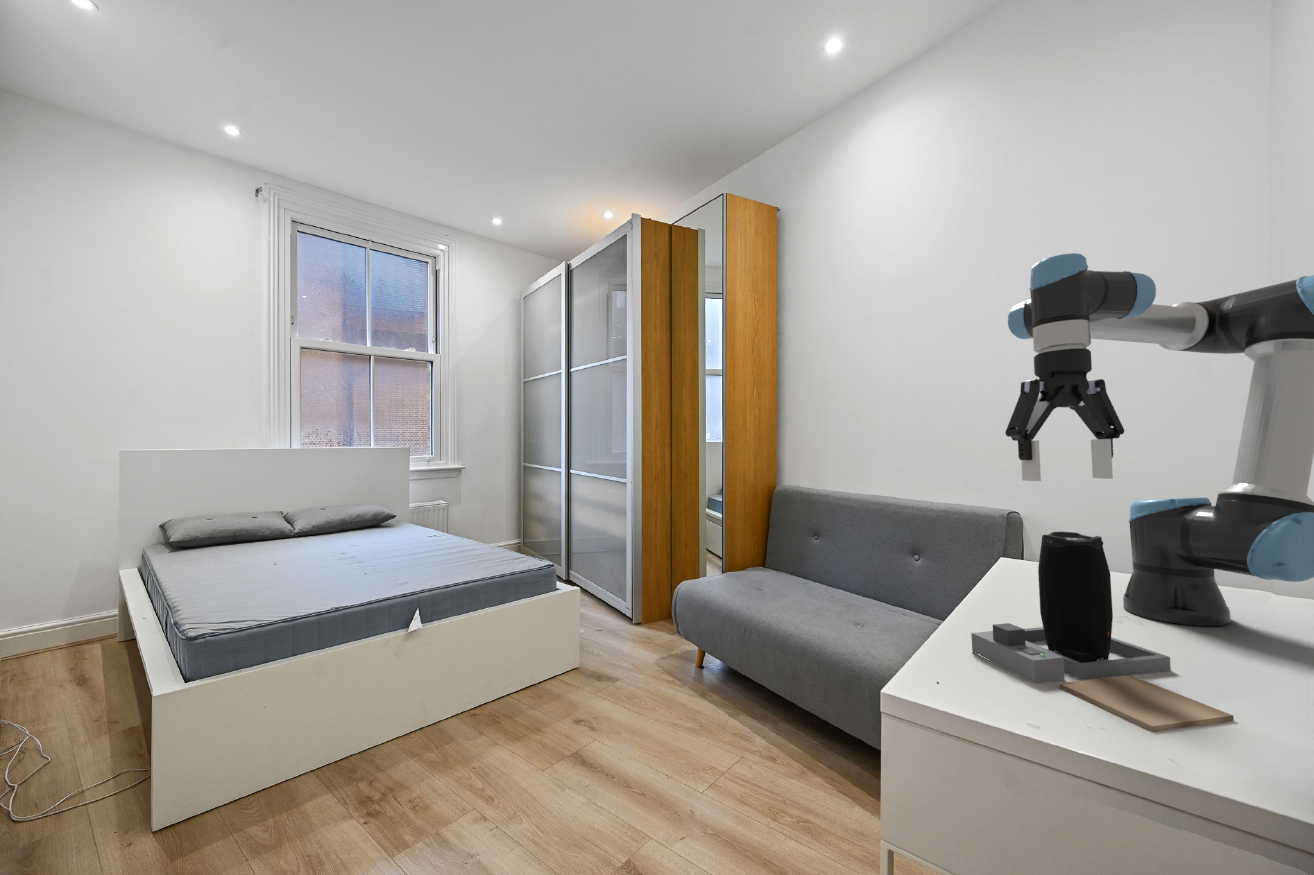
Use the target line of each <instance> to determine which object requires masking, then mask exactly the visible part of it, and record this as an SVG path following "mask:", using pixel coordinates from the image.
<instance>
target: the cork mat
mask: <svg viewBox="0 0 1314 875" xmlns="http://www.w3.org/2000/svg"><path fill="white" fill-rule="evenodd" d="M1058 684H1059V685H1058V686H1059V688H1060V689H1061V690H1064V691H1065V692H1068V693H1070V694H1073V695H1075V696H1077V697H1079V698H1081V699H1083V700H1085V701H1087V702H1090V703H1092V704H1093V705H1095V706H1097V707H1100V708H1102V709H1104V710H1106V711H1108V712H1110V713H1112V714H1114V715H1116V716H1119V717H1121V718H1123V719H1124V720H1127V721H1129V722H1130V723H1131V722H1132V723H1134V724H1136V725H1138V726H1139V727H1142V728H1144V729H1147V730H1149V731H1150V732H1159V731H1164V730H1166V731H1167V730H1173V729H1174V730H1175V729H1180V728H1188V727H1194V726H1203V725H1211V724H1218V723H1224V722H1232V721H1231V720H1233V721H1234V715H1233V714H1231V713H1228V712H1225V711H1223V710H1220V709H1218V708H1215V707H1212V706H1210V705H1207V704H1205V703H1202V702H1200V701H1197V700H1195V699H1192V698H1190V697H1187V696H1185V695H1182V694H1180V693H1177V692H1175V691H1172V690H1169V689H1166V688H1164V687H1161V686H1159V685H1156V684H1154V683H1151V682H1149V681H1146V680H1143V679H1140V678H1138V677H1135V676H1134V675H1125V676H1116V677H1107V678H1098V679H1089V680H1078V681H1067V682H1066V681H1065V682H1059V683H1058Z"/></svg>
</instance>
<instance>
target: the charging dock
mask: <svg viewBox="0 0 1314 875" xmlns="http://www.w3.org/2000/svg"><path fill="white" fill-rule="evenodd" d="M1024 629H1025V642H1027V643H1029V644H1032V645H1034V646H1037V647H1039V648H1042V649H1044V650H1047V651H1049V652H1051V653H1054V654H1056V655H1059V656H1061V657H1063V658H1064V674H1065V673H1066V674H1068V675H1070V676H1072V677H1075V678H1077V679H1079V680H1080V681H1084V680H1092V679H1101V678H1110V677H1119V676H1128V675H1131V676H1134V675H1140V674H1149V673H1158V672H1159V673H1161V672H1168V671H1169V672H1170V671H1171V670H1172V669H1171V668H1172V667H1171V656H1168V655H1166V654H1162V653H1161V652H1156V651H1153V650H1150V649H1147V648H1144V647H1142V646H1139V645H1135V644H1133V643H1130V642H1126V641H1124V640H1121V639H1118V638H1114V637H1112V636H1111V644H1110V653H1114V654H1117V655H1120V656H1122V657H1125V658H1118V659H1106V660H1097V661H1096V662H1086V663H1080V662H1077V661H1075V660H1072V659H1070V658H1068V657H1065V656H1063V655H1061V654H1060V653H1058V652H1056V651H1050V650H1048V648H1045V647H1042V646H1040V645H1038V644H1035V642H1037V643H1038V642H1046V638H1045V633H1044V628H1043V626H1042V627H1041V626H1040V627H1030V628H1024Z"/></svg>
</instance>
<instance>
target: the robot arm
mask: <svg viewBox="0 0 1314 875" xmlns="http://www.w3.org/2000/svg"><path fill="white" fill-rule="evenodd" d="M1088 268H1089V265H1088V263H1087V257H1085V255H1083V254H1081V253H1075V252H1074V253H1070V252H1069V253H1063V254H1058V255H1053V256H1049V257H1046V258H1044V259H1041V260H1039V261H1038V262H1036V263H1035V264H1033V266H1032V267H1031V269H1030V279H1029V281H1030V283H1029V285H1030V286H1029V291H1030V298H1028V299H1026V300H1025V301H1022V302H1020V303H1018V304H1016V305H1014V306H1013V307H1012V308H1011V309H1010V310H1009V312H1008V315H1007V326H1008V329H1009V331H1010V332H1011V334H1012V335H1013V336H1015V337H1016V338H1018V339H1021V340H1028V339H1032V340H1033V342H1032V343H1033V344H1032V345H1033V352H1035V353H1037V354H1035V356H1033V371H1034V375H1035V377H1038V378H1034V379H1028V380H1023V381H1021V383H1020V395H1019V397H1018V400H1017V402H1016V404H1015V407H1014V409H1013V412H1012V414H1011V417H1010V419H1009V422H1008V425H1007V427H1006V430H1005V436H1006V437H1007V438H1008V437H1011V440H1012V441H1013V442H1014V441H1015V442H1016V441H1017V449H1018V451H1017V452H1018V459H1019V461H1021V478H1022V479H1021V480H1022V481H1027V482H1028V481H1029V482H1041V480H1042V479H1041V458H1040V457H1041V456H1040V453H1041V452H1040V440H1036V439H1035V438H1036V436H1037V434H1038V433H1039V431H1040V430H1041V428H1042V427H1043V426H1044V424H1045V423H1046V421H1047V420H1048V418H1049V417H1050V415H1051V414H1052V413H1053V411H1054V410H1055V409H1057V408H1064V409H1065V408H1069V409H1071V410H1073V411H1074V412H1075V413H1076V414H1077V415H1078V417H1079V418H1080V420H1081V421H1082V422H1083V423H1084V425H1085V426H1086V427H1087V429H1088V430H1089V431H1090V433H1092V435H1093V436H1094V437H1095V438H1096V439H1090V450H1091V451H1090V452H1091V467H1092V468H1091V470H1092V471H1091V472H1092V479H1103V480H1105V479H1107V480H1109V479H1111V480H1112V479H1113V477H1114V476H1113V473H1114V472H1113V458H1114V443H1113V441H1114V439H1119V438H1121V435H1124V433H1125V428H1124V426H1123V424H1122V422H1121V420H1120V418H1119V416H1118V413H1117V411H1116V409H1115V407H1114V405H1113V403H1112V401H1111V400H1110V399H1111V398H1110V396H1109V395H1108V393H1107V387H1106V386H1107V385H1106V381H1105V380H1104V379H1102V378H1099V379H1094V380H1088V378H1087V375H1088V373H1090V372H1091V371H1092V369H1093V367H1092V366H1093V364H1092V351H1091V350H1090V349H1089V348H1088V347H1090V346H1091V344H1092V341H1091V339H1092V340H1105V341H1118V342H1130V343H1141V344H1142V343H1144V344H1154V345H1155V344H1156V345H1159V346H1160V347H1161V348H1164V349H1165V350H1169V351H1176V352H1177V351H1179V352H1191V353H1201V354H1202V353H1203V354H1223V355H1224V354H1227V355H1230V354H1244V355H1245V356H1246V357H1247V358H1249V359H1250V360H1251V361H1253V369H1252V373H1251V378H1250V385H1249V390H1248V395H1247V401H1246V405H1245V406H1246V407H1245V412H1244V419H1243V423H1242V430H1241V433H1240V440H1239V443H1238V444H1239V445H1238V450H1237V451H1238V452H1237V456H1236V461H1235V466H1234V473H1233V479H1232V483H1231V484H1232V485H1231V486H1230V487H1228V488H1225V489H1224V490H1222V491H1220V492H1218V493H1217V498H1216V502H1215V505H1212V501H1210V499H1209V498H1208V497H1206V496H1205V497H1182V498H1181V497H1179V498H1161V499H1142V500H1141V499H1140V500H1135V501H1134V502H1132V504H1130V507H1129V509H1130V510H1129V519H1128V522H1129V531H1130V532H1129V534H1130V544H1131V546H1130V547H1131V559H1132V560H1131V562H1132V573H1131V576H1130V579H1129V581H1128V584H1127V586H1126V590H1125V592H1124V594H1123V597H1122V601H1123V609H1124V610H1125V611H1127V612H1128V613H1130V614H1134V615H1136V616H1140V617H1143V618H1146V619H1151V620H1155V621H1160V622H1166V623H1172V624H1180V625H1187V626H1197V627H1199V626H1200V627H1221V626H1228V625H1230V624H1231V623H1232V620H1231V618H1232V617H1231V610H1230V607H1228V605H1227V602H1226V600H1225V598H1224V596H1223V594H1222V591H1221V589H1220V588H1219V586H1218V584H1217V582H1216V577H1215V570H1218V571H1225V572H1229V573H1235V574H1240V575H1246V576H1252V577H1256V578H1259V579H1262V580H1268V581H1271V580H1275V581H1283V582H1291V583H1292V582H1293V583H1295V582H1296V583H1297V582H1299V583H1300V582H1304V581H1305V582H1306V581H1309V580H1310V579H1313V578H1314V500H1312V498H1310V497H1309V496H1308V490H1309V483H1310V479H1311V472H1312V465H1313V461H1314V460H1313V459H1314V275H1309V276H1307V275H1303V276H1300V277H1298V278H1297V279H1294V280H1289V281H1285V282H1284V281H1283V282H1280V283H1276V284H1272V285H1268V286H1263V287H1260V288H1257V289H1252V290H1251V289H1250V290H1249V291H1244V292H1240V293H1239V292H1238V293H1235V294H1231V295H1227V296H1223V297H1219V298H1214V299H1210V300H1205V301H1200V302H1191V301H1183V302H1178V303H1175V304H1173V305H1166V304H1153V303H1154V302H1155V299H1156V295H1157V288H1156V284H1155V281H1154V279H1152V278H1151V277H1150V276H1149V275H1147V274H1144V273H1140V272H1131V271H1128V270H1127V271H1126V270H1125V271H1100V270H1099V271H1097V270H1090V269H1089V270H1088ZM1034 439H1035V440H1034Z"/></svg>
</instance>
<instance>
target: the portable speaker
mask: <svg viewBox="0 0 1314 875" xmlns="http://www.w3.org/2000/svg"><path fill="white" fill-rule="evenodd" d="M1037 572H1038V573H1037V574H1038V592H1039V593H1038V594H1039V612H1040V618H1041V622H1042V627H1043V628H1044V633H1045V638H1046V641H1045V643H1046V646H1047V649H1048V650H1050V651H1053V652H1055V653H1058V654H1060V655H1063V656H1065V657H1068V658H1070V659H1072V660H1075V661H1077V662H1080V663H1086V662H1096V661H1099V660H1100V659H1102V660H1103V661H1105V660H1109V656H1110V654H1111V651H1110V644H1111V637H1112V632H1113V618H1114V616H1113V613H1114V612H1113V597H1112V595H1113V594H1112V583H1111V581H1112V580H1111V571H1110V568H1109V564H1108V561H1107V556H1106V554H1105V550H1104V541H1103V540H1102V536H1098V535H1095V536H1089V535H1085V534H1081V533H1078V532H1072V531H1071V532H1070V531H1052V532H1050V533H1048V534H1043V535H1041V544H1040V552H1039V560H1038V569H1037Z"/></svg>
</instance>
